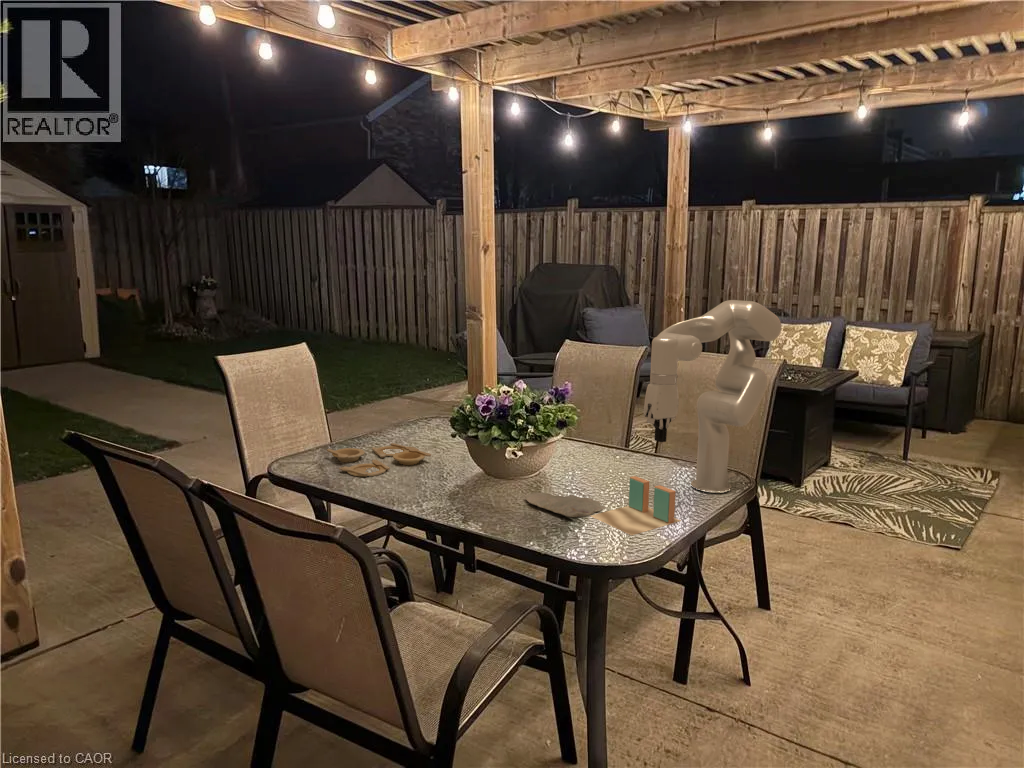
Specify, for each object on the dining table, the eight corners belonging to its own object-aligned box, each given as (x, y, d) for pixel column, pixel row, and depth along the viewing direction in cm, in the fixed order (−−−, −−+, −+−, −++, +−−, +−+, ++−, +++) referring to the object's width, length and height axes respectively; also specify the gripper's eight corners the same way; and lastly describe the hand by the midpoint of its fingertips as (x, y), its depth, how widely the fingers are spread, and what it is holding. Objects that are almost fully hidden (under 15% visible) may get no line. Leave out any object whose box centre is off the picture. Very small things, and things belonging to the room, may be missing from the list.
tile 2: (658, 515, 204) (659, 485, 202) (673, 522, 199) (675, 491, 197) (652, 517, 203) (653, 486, 201) (668, 523, 198) (669, 492, 196)
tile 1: (633, 505, 212) (634, 476, 210) (648, 511, 207) (649, 481, 205) (628, 506, 211) (629, 477, 209) (642, 512, 206) (643, 482, 204)
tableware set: (354, 482, 236) (353, 470, 236) (316, 461, 259) (316, 451, 258) (442, 463, 258) (442, 452, 257) (401, 445, 280) (400, 435, 280)
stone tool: (613, 509, 215) (540, 492, 228) (614, 498, 214) (541, 481, 227) (585, 527, 199) (508, 507, 211) (586, 516, 198) (509, 496, 211)
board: (638, 506, 214) (638, 503, 214) (681, 524, 200) (681, 520, 200) (589, 519, 203) (589, 515, 203) (631, 538, 190) (631, 535, 189)
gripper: (671, 375, 214) (668, 435, 217) (635, 379, 205) (632, 441, 209) (691, 379, 208) (687, 440, 211) (654, 383, 199) (651, 447, 203)
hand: (660, 441), depth 210 cm, fingers closed
